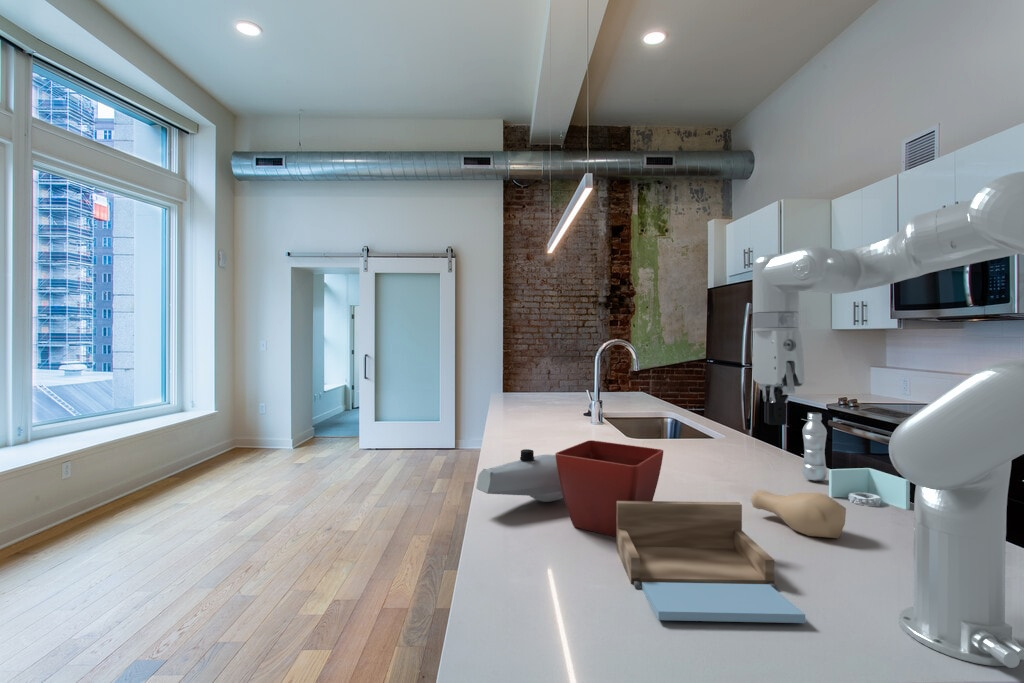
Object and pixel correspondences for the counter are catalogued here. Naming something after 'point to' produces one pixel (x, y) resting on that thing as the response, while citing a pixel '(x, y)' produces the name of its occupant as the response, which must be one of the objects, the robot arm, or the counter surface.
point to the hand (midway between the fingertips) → (775, 423)
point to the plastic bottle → (814, 448)
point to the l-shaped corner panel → (869, 487)
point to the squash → (805, 512)
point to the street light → (524, 478)
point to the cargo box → (688, 544)
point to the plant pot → (605, 481)
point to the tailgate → (720, 602)
